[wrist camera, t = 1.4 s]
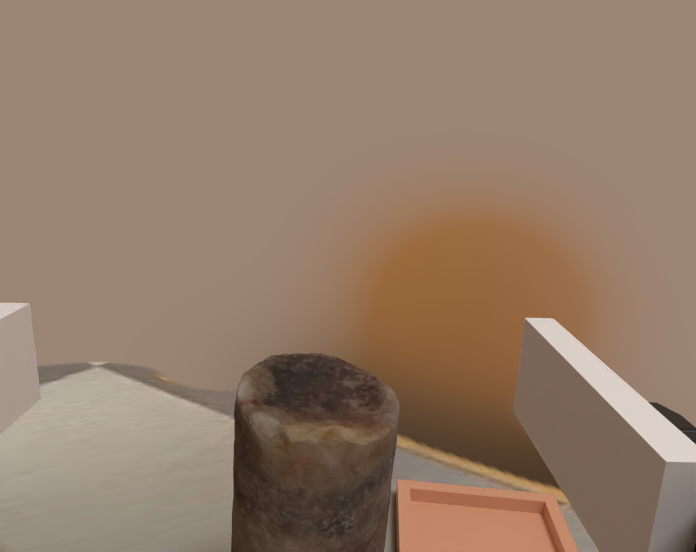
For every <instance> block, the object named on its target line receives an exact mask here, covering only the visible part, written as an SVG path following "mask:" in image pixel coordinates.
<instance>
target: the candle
mask: <svg viewBox="0 0 696 552" xmlns="http://www.w3.org/2000/svg"><path fill="white" fill-rule="evenodd" d="M234 418H235V441H234V466H233V477H234V499H233V509H232V546H231V552H384V547H385V539H386V530H387V521H388V512H389V503H390V493H391V479H392V471H393V463H394V456H395V450H396V442H397V431H398V423H399V402H398V400H397V397H396V394H395V392H394V391H393V390H392V389H391V388H390V387H389V386H388V385H387V384H386V383H384V382H382V381H381V380H379V379H378V378H377V377H376V376H374V375H372V374H371V373H369V372H367V371H365V370H362V369H360V368H358V367H356V366H354V365H352V364H350V363H347V362H346V361H344V360H342V359H340V358H337V357H333V356H327V355H324V354H316V353H310V354H302V353H300V354H299V353H296V354H291V355H289V354H282V355H275V356H269V357H268V358H267V359H265V360H264V361H262V362H260V363H258V364H256V365H255V366H254V367H253V368H251V369H250V370H249V371H246V372H245V373H244V375H243V377H242V378H241V380H240V383H239V386H238V390H237V394H236V402H235V410H234Z"/></svg>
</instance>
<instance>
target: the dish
mask: <svg viewBox="0 0 696 552" xmlns="http://www.w3.org/2000/svg"><path fill="white" fill-rule="evenodd" d="M396 535H397V552H578V549H577V547H576V545H575V542H574V540H573V538H572V536H571V533H570V531H569V529H568V526H567V524H566V522H565V519H564V517H563V515H562V513H561V510H560V508H559V506H558V503H557V501H556V499H555V496H554V495H551V494H541V493H531V492H521V491H510V490H500V489H490V488H480V487H470V486H460V485H450V484H440V483H429V482H419V481H409V480H399V479H398V480H397V489H396Z"/></svg>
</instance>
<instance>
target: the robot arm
mask: <svg viewBox="0 0 696 552" xmlns="http://www.w3.org/2000/svg"><path fill="white" fill-rule="evenodd" d="M40 399H41V395H40V387H39V378H38V370H37V362H36V354H35V345H34V336H33V328H32V319H31V311H30V304H29V303H0V434H1V433H2V432H4V431H5V430H6V429H7V428H8V427H9V426H10V425H11V424H13V423H14V422H15V421H16V420H17V419H18V418H19V417H21V416H22V415H23V414H24V413H25V412H26V411H27V410H29V409H30V408H31V407H32V406H33V405H34V404H35V403H37V402H38V401H39V400H40ZM514 413H515V414H516V416H517V417H518V419H519V421H520V423H521V424H522V426H523V427H524V429H525V431H526V432H527V434H528V436H529V437H530V439H531V440H532V442H533V444H534V445H535V447H536V449H537V450H538V452H539V454H540V455H541V457H542V458H543V460H544V462H545V463H546V465H547V467H548V468H549V470H550V472H551V473H552V475H553V476H554V478H555V480H556V481H557V483H558V485H559V486H560V488H561V489H562V491H563V493H564V494H565V496H566V498H567V499H568V501H569V503H570V504H571V506H572V507H573V509H574V511H575V512H576V514H577V516H578V517H579V519H580V521H581V522H582V524H583V525H584V527H585V529H586V530H587V532H588V534H589V535H590V537H591V538H592V540H593V542H594V543H595V545H596V547H597V548H598V550H599V552H696V428H695V427H694V426H693V425H692V424H691V423H689V422H688V421H687V420H686V419H685V418H683V417H682V416H681V415H679V414H678V413H675V412H673V411H671V410H670V409H668V408H666V407H664V406H662V405H660V404H658V403H650V402H647V401H646V400H645V399H644V398H643V397H641V396H640V395H639V394H638V393H637V392H636V391H635V390H633V389H632V388H631V387H630V386H629V385H628V384H627V383H626V382H624V381H623V380H622V379H621V378H620V377H619V376H618V375H617V374H615V373H614V372H613V371H612V370H611V369H610V368H609V367H607V366H606V365H605V364H604V363H603V362H602V361H601V360H599V359H598V358H597V357H596V356H595V355H594V354H593V353H592V352H590V351H589V350H588V349H587V348H586V347H585V346H584V345H583V344H581V343H580V342H579V341H578V340H577V339H576V338H575V337H573V336H572V335H571V334H570V333H569V332H568V331H567V330H565V329H564V328H563V327H562V326H561V325H560V324H559V323H558V322H556V321H555V320H554V319H548V318H546V319H545V318H525V320H524V329H523V337H522V345H521V354H520V362H519V370H518V379H517V388H516V396H515V404H514Z"/></svg>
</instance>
